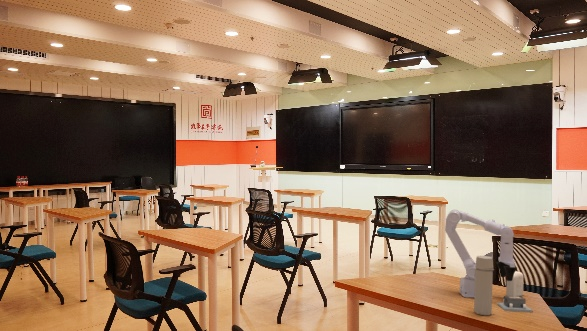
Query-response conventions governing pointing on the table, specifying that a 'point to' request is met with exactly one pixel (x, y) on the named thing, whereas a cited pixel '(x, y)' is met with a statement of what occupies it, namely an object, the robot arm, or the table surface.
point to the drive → (514, 301)
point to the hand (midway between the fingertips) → (506, 278)
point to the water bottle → (483, 285)
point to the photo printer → (515, 285)
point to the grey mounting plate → (524, 309)
